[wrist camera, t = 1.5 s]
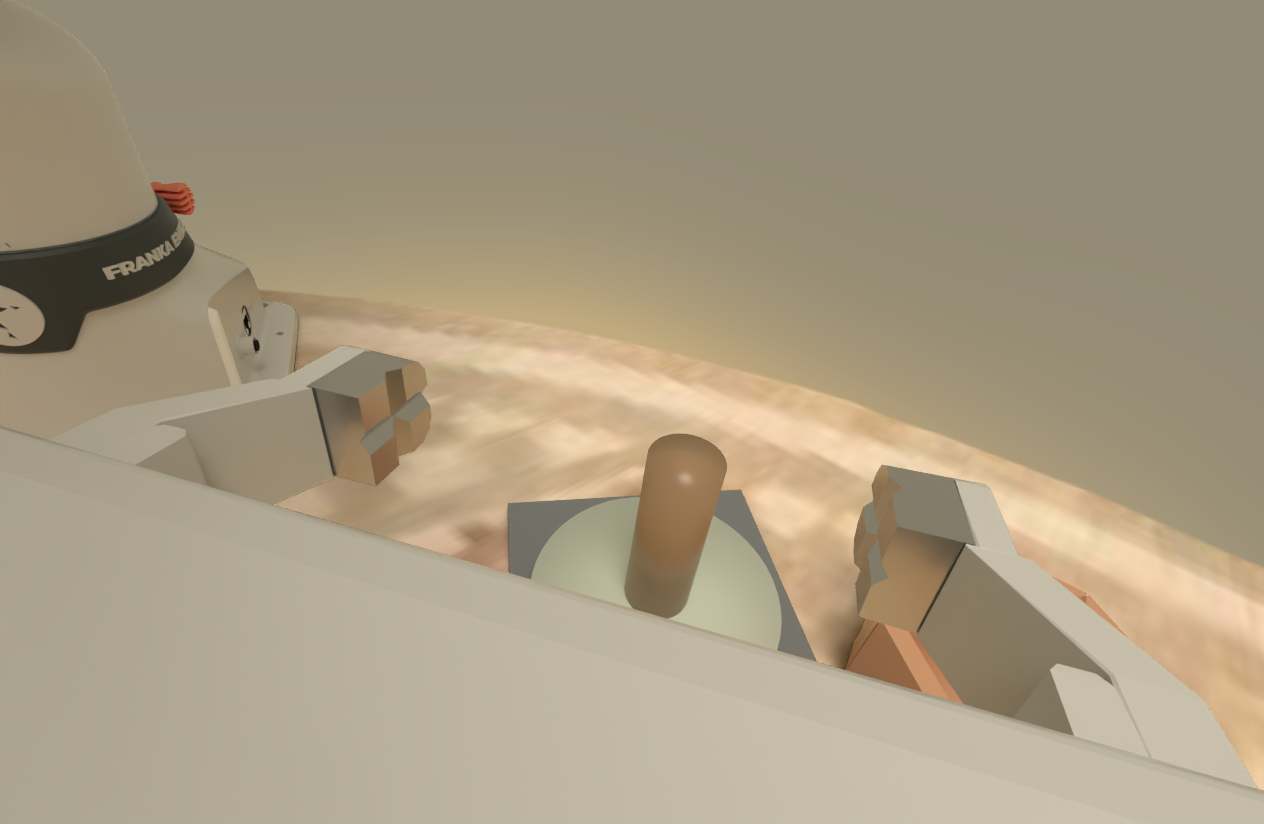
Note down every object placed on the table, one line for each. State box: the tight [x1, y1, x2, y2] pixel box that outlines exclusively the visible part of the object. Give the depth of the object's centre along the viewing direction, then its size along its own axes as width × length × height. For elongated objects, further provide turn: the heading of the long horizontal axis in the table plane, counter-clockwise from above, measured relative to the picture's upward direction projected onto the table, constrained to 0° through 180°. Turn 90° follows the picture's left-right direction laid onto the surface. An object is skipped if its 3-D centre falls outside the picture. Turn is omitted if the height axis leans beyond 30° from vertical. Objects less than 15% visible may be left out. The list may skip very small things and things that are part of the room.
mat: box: [508, 490, 817, 662], centre depth 33 cm, size 16×16×1 cm
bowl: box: [845, 577, 1126, 704], centre depth 28 cm, size 12×12×6 cm
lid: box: [531, 434, 782, 650], centre depth 29 cm, size 14×14×11 cm
